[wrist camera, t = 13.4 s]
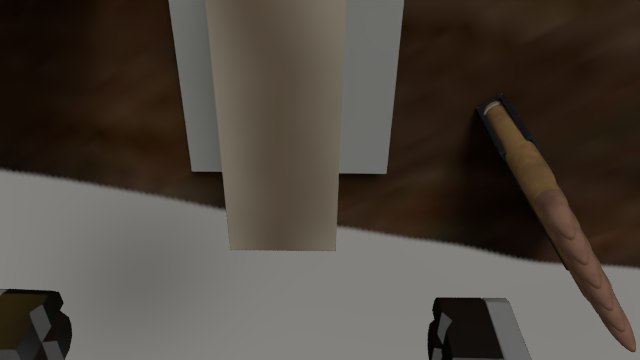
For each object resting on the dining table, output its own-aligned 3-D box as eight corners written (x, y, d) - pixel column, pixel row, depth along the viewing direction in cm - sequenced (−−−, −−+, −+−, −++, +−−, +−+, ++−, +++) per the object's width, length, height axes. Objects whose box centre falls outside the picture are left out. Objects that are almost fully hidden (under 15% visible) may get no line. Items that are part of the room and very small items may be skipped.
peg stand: (416, -175, 25) (441, -174, 20) (383, 161, 35) (395, 218, 30) (152, -180, 24) (110, -181, 19) (196, 158, 34) (176, 216, 29)
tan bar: (346, -147, 20) (352, -140, 17) (333, 201, 29) (335, 250, 26) (212, -149, 20) (191, -143, 17) (240, 200, 29) (230, 249, 26)
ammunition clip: (474, 107, 33) (543, 234, 23) (502, 91, 32) (586, 214, 22) (540, 222, 37) (620, 368, 27) (566, 210, 37) (658, 355, 27)
